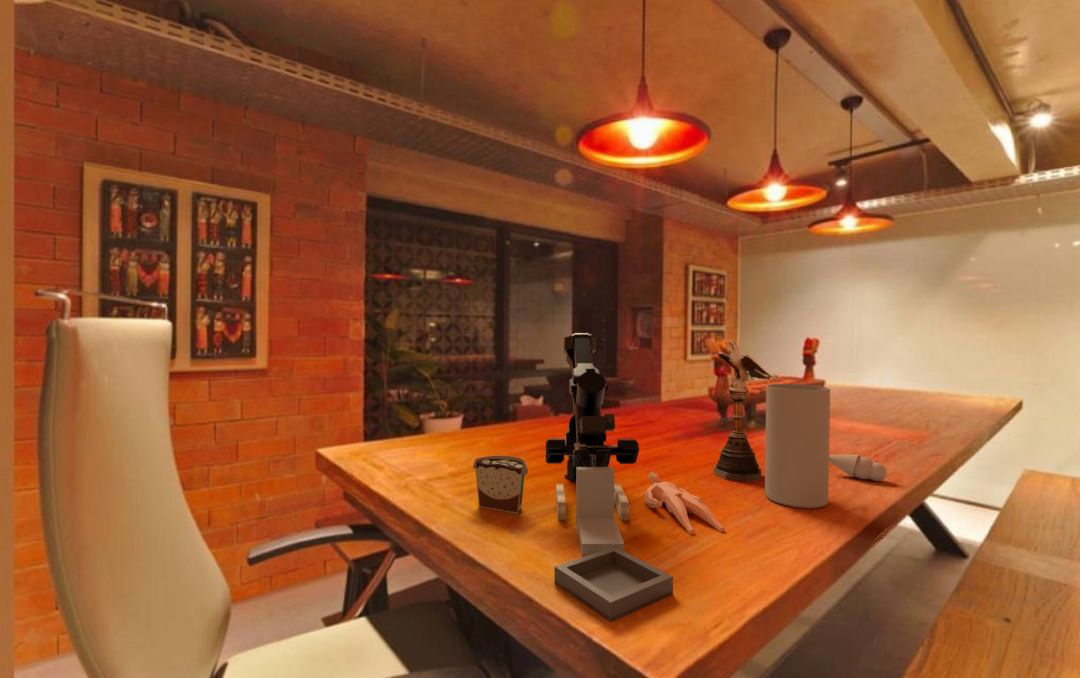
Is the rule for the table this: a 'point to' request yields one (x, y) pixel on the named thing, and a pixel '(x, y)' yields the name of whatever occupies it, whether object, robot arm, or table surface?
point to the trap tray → (613, 582)
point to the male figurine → (678, 503)
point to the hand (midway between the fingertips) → (594, 489)
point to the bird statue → (740, 421)
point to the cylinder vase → (797, 445)
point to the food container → (500, 482)
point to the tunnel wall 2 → (621, 502)
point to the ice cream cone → (859, 466)
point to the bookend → (596, 510)
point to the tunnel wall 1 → (560, 502)
